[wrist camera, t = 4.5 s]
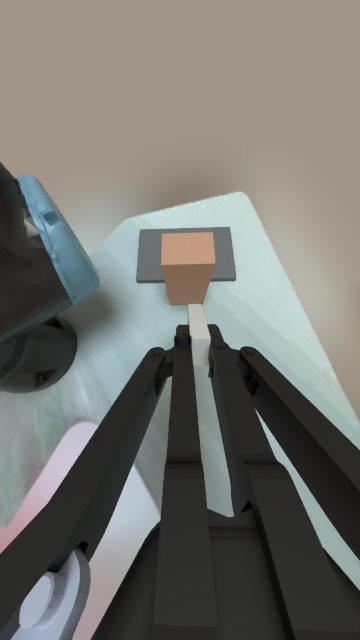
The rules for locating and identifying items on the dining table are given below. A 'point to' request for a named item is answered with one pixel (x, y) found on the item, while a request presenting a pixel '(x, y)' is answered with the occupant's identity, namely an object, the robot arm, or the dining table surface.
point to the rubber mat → (152, 238)
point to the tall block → (187, 266)
